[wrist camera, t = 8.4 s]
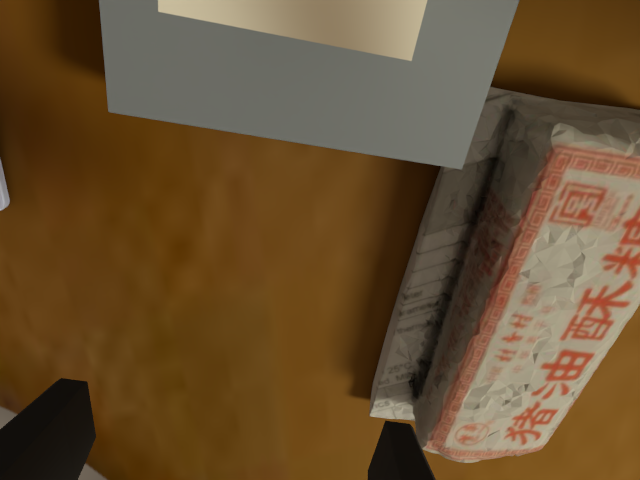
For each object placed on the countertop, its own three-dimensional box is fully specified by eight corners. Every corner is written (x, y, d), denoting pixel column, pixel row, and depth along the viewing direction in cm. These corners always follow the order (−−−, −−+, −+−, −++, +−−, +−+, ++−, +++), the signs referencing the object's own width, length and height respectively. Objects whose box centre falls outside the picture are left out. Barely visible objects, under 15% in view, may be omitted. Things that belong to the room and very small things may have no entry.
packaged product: (497, 106, 13) (820, 157, 13) (456, 77, 17) (701, 117, 17) (371, 473, 21) (565, 496, 22) (365, 395, 26) (528, 415, 26)
